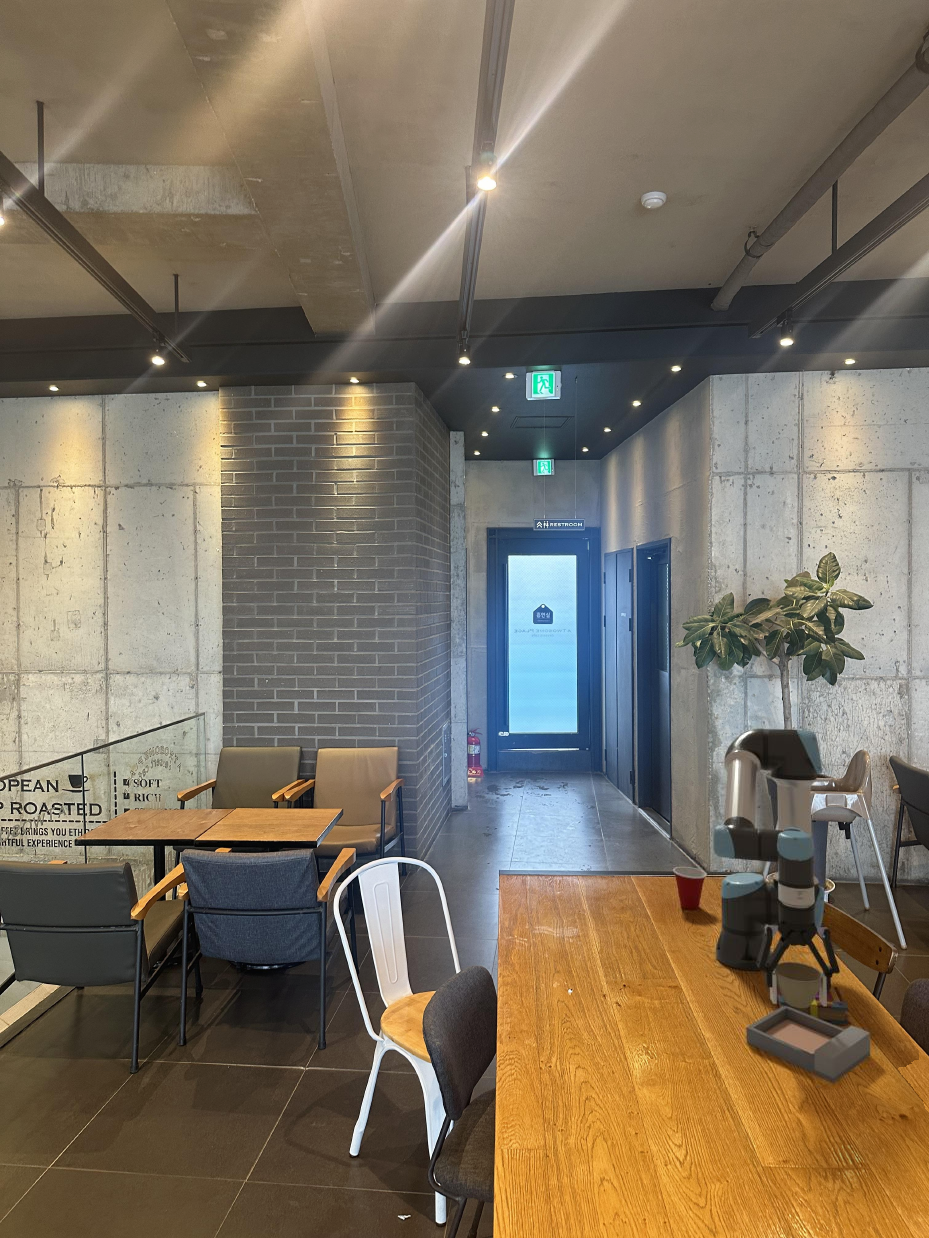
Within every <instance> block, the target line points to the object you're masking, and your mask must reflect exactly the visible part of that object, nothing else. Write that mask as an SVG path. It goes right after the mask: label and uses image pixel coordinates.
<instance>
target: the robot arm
mask: <svg viewBox="0 0 929 1238" xmlns="http://www.w3.org/2000/svg"><path fill="white" fill-rule="evenodd" d="M723 766H724V769H725V771H726V772H727V773H726V785H725V786H726V787H725V800H724V811H723V814H724V815H723V824H722V825H721V824H720V825H715V826H714V829H713V835H712V837H713V839H712V840H713V841H712V842H713V843H712V844H713V845H712V846H713V852H714V855H716V856H717V857H719V858H725V859H726V858H727V859H731V860H745V861H746V860H747V861H758V862H768V863H776V864H777V869H778V871H777V872H775V873H774V874H773V876H772V881H766V879H765V877H764V875H762V874H759V873H756V872H738V873H732V874H729V875H727V876H725V877H724V878H723V880H722V881H721V888H720V890H721V891H720V894H719V895H720V897H721V930H720V934H719V937H718V939H717V942H716V946H715V958H716V959H717V961H718V962H720V963H721V964H723V965H725V966H727V967H730V968H733V969H737V970H741V971H761V972H762V971H763V972H764V973H765V978H764V979H765V981H764V982H765V985H766V987H767V988H769V999H770V1001H771V1002H772V1004H773V1005H777V984H776V974H775V972H774V969H775V968H776V966H777V964H778V963H780V961H781V959H782V958H783V956H784V954H785V952H786V951H787V950H788V949H789V948H790V946H791V947H792V946H793V947H796V946H801V947H806V946H808V948H809V950H810V952H811V953H812V955H813V957H814V958H815V960H816V961H817V963H818V965H819V966H820V968H821V970H822V971H820V972H821V974H822V980H821V985H820V988H819V1001H820V1002H821V1004H822V1005H823V1006H827V990H830V989H831V987H832V978H833V975H834V974H836V975H838V974H840V971H841V970H840V967H839V964H838V961H837V957H836V955H835V951H834V948H833V945H832V941H831V930H829V928H828V927H827V926H826V925H822V922H823V916H824V908H825V892H826V891H825V888H824V887H822V886H819V885H820V883H819V882H820V881H819V879H818V878H817V877H816V876H815V846H814V839H813V837H812V836H813V835H812V833H813V832H812V830H813V829H812V785H813V784H814V783H816V782H817V775H820V774H822V773H823V767H822V759H821V753H820V747H819V742H818V738H817V735H816V734H815V732H814V731H811V730H807V729H806V730H805V729H794V728H793V729H791V728H789V729H784V728H782V729H780V728H778V729H777V728H775V729H774V728H753V729H749V730H746V731H745V732H743V733H741V734H740V735H738V736H737V737H736V738H734V740H732V742H731V743H730V744H729V746H728V748H727V749H726V752H725V755H724V760H723ZM761 771H764V772H765V771H767V772H769V771H770V772H771V777H770V778H771V779H772V780H773V781H774V782H775V783H776V785H777V788H776V790H777V829H771V828H770V829H768V828H766V829H765V828H757V827H756V819H757V817H756V815H757V814H756V811H757V810H756V809H757V784H758V783H757V779H758V778H757V776H758V775H759V773H760V772H761ZM777 932H778V933H779V934H780V937H779V938H778V939H779V940H778V943H777V944H776V946H775V947H774V949H773V951H772V949H771V947H772V945H773V944H772V943H773V941H774V940H773V939H774V938H773V937H775V936H776V933H777ZM817 933H818V936H819V937H820V938H821V940H822V943H823V947H824V951H825V953H826V957H827V959H828V963H829V965H827V963H826V962H825V960H824V958H823V957H822V955H821V953H820V951H819V950H818V948H817V946H816V945H815V944H814V941H813V938H814V937H815V936H816V935H817Z"/></svg>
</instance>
